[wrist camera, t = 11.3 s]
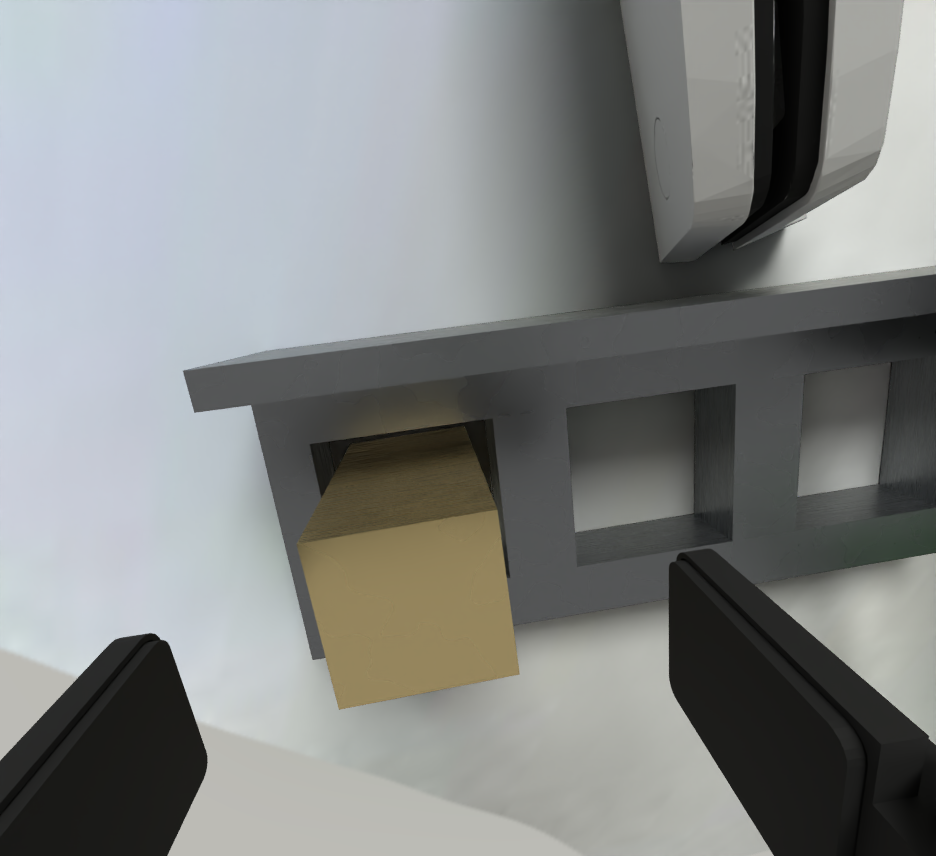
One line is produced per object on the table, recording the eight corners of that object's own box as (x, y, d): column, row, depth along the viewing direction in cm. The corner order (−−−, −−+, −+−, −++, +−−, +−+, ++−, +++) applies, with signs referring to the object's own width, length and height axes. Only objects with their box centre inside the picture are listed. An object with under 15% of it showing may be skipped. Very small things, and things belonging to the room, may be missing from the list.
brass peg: (464, 425, 18) (497, 509, 10) (479, 528, 19) (519, 674, 11) (350, 443, 18) (296, 544, 10) (372, 547, 19) (339, 709, 11)
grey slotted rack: (937, 265, 18) (1175, 243, 13) (905, 520, 21) (1089, 598, 15) (266, 351, 17) (182, 370, 11) (326, 616, 19) (285, 746, 14)
